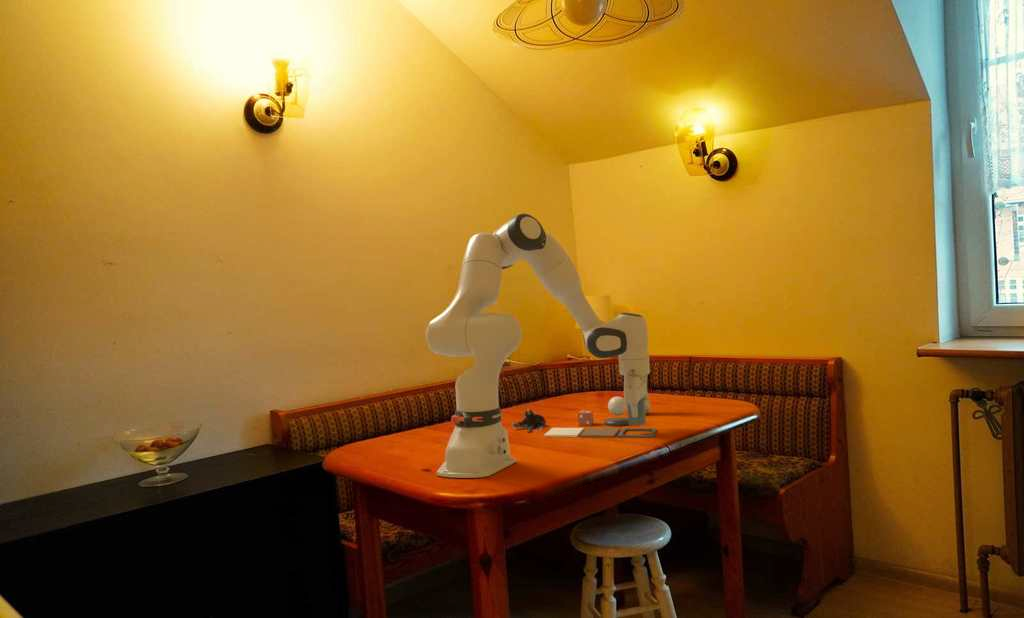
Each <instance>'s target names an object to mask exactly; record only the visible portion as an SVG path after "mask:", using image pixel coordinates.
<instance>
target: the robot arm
mask: <svg viewBox="0 0 1024 618" xmlns="http://www.w3.org/2000/svg"><path fill="white" fill-rule="evenodd" d="M521 260H523V261H525V262H527V263H528V264H529V265H530V267H531V269H532V270H533V272H534V274H535V276H536V277H537V279H538V280H539V282H540V283H541V284H542V285H543V287H544V288H545V290H546V291H547V292H549V293H550V295H551V296H553V298H555V299H556V300H558V301H559V302H561V303H562V305H564V307H566V309H567V310H568V311H569V313H570V314H571V316H572V317H573V319H574V321H575V322H576V324H577V325H578V326H579V329H580V330H581V333H582V338H583V343H584V346H585V349H586V350H587V352H588V353H590V354H591V355H592V356H593V357H596V358H597V359H602V360H603V359H604V360H605V359H609V358H612V357H616V356H617V357H618V373H619V375H621V376H623V399H624V402H625V404H626V405H627V406H628V405H630V408H631V412H632V417H638V415H639V414H638V413H639V412H638V402H639V401H640V400H641V399H642V398H643V397H644V396H645V394H646V392H648V377H647V374H648V375H649V374H650V373H651V367H650V366H651V365H650V354H649V352H648V345H649V332H648V325H647V322H646V319H645V318H644V317H643V316H642V315H640V314H638V313H632V312H620V313H619V314H618V315H616V316H615V317H614V318H612V319H610V320H609V321H606V322H603V321H602V320H601V319H600V318H599V316H598V315H597V314H596V312H595V310H594V309H593V308H592V306H591V304H590V303H589V301H588V299H587V298H586V295H585V294H584V292H583V288H582V282H581V277H580V274H579V272H578V270H577V267H576V265H575V264H574V262H573V260H572V258H571V257H570V256H569V254H568V253H567V251H566V250H565V248H563V246H562V245H561V244H560V243H559V242H558V240H557V239H555V237H554V236H552V234H550V233H548V232H545V229H544V227H543V226H542V224H541V222H539V221H538V219H537V218H536V217H534V216H532V215H530V214H528V213H520V214H517V215H515V216H513V217H511V218H510V220H508V221H506V222H505V223H504V224H502V225H501V226H499V227H498V228H497V229H496V230H494V232H493V233H490V232H479V233H475V234H474V235H472V237H470V238H469V241H468V242H467V246H466V248H465V251H464V255H463V258H462V264H461V269H460V277H459V282H458V287H457V290H456V293H455V295H454V297H453V299H452V300H451V302H450V303H449V304H448V306H447V307H446V308H445V309H444V310H443V312H441V313H440V314H439V315H437V316H436V317H434V318H433V319H431V320H430V322H429V323H428V324H427V327H426V331H425V341H426V344H427V346H428V348H429V350H430V351H431V353H434V354H436V355H440V356H441V355H442V356H445V357H474V362H473V365H472V367H471V368H468V369H467V370H465V371H463V373H461V374H460V375H459V376H458V377H457V378H456V381H455V384H454V387H455V400H456V401H455V402H456V404H455V405H456V410H455V411H454V415H451V418H450V420H451V422H450V423H452V424H454V428H453V431H452V433H451V435H450V437H449V440H448V443H447V446H446V448H445V461H443V463H442V464H441V466H440V467H439V468H438V470H436V475H437V476H440V477H443V478H444V477H445V478H458V479H459V478H461V479H463V478H464V479H465V478H466V479H468V478H469V479H471V478H473V479H475V478H486V477H490V476H492V475H494V474H496V473H498V472H500V471H502V470H504V469H505V468H507V467H509V466H511V465H513V464H514V463H516V462H517V461H516V457H515V456H512V455H511V451H510V443H509V442H510V441H509V436H508V434H509V433H508V429H506V427H504V425H503V424H502V422H501V421H502V409H501V407H500V405H499V404H500V403H499V402H500V401H499V379H500V374H501V370H502V367H503V365H504V363H505V362H506V360H507V359H508V357H510V355H512V354H513V353H514V352H515V351H516V350H517V349H518V347H519V346H520V343H521V341H522V336H523V335H522V334H523V333H522V327H521V325H520V322H519V320H517V318H516V317H515V316H513V315H511V314H506V313H499V312H490V313H489V312H488V313H482V312H483V311H485V310H486V309H487V308H489V307H491V306H493V305H494V304H495V303H496V302H497V301H498V298H499V297H500V292H501V291H500V290H501V283H502V273H503V272H502V271H503V270H506V269H508V268H510V267H512V266H513V265H514V264H516V263H517V262H519V261H521Z"/></svg>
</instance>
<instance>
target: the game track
mask: <svg viewBox="0 0 1024 618" xmlns="http://www.w3.org/2000/svg"><path fill="white" fill-rule="evenodd" d="M627 431H629V432H650V433H649V434H625V433H626V432H627ZM656 431H657V428H655V427H653V428H651V427H623V428H622V429H620V427H586V428H585V427H551V428H550V429H549V430H548V431H547V432H546V433H544V434H543V436H544V438H577V437H580V438H615V437H616V435H617V438H622V439H623V438H624V439H625V438H629V439H630V438H634V439H637V438H639V439H641V438H642V439H646V438H649V439H652V438H654V436H655V434H656Z"/></svg>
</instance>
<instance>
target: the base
mask: <svg viewBox="0 0 1024 618" xmlns="http://www.w3.org/2000/svg"><path fill="white" fill-rule="evenodd" d="M603 424H604V426H608V425H609V427H624V426H630V425H629V422H628V417H627V416H625V417H624V416H623V417H622V416H621V417H620V416H617V417H609V418H606V419H605V418H604V420H603Z"/></svg>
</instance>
